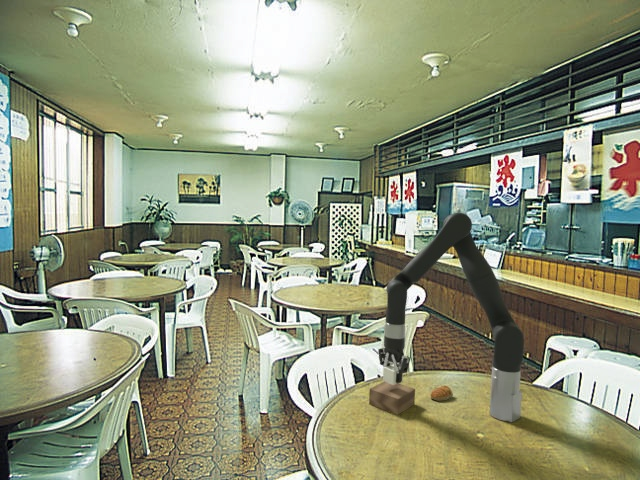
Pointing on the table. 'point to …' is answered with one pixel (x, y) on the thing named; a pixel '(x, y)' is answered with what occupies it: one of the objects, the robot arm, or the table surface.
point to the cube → (390, 374)
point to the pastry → (441, 393)
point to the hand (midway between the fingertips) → (392, 379)
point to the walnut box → (392, 397)
